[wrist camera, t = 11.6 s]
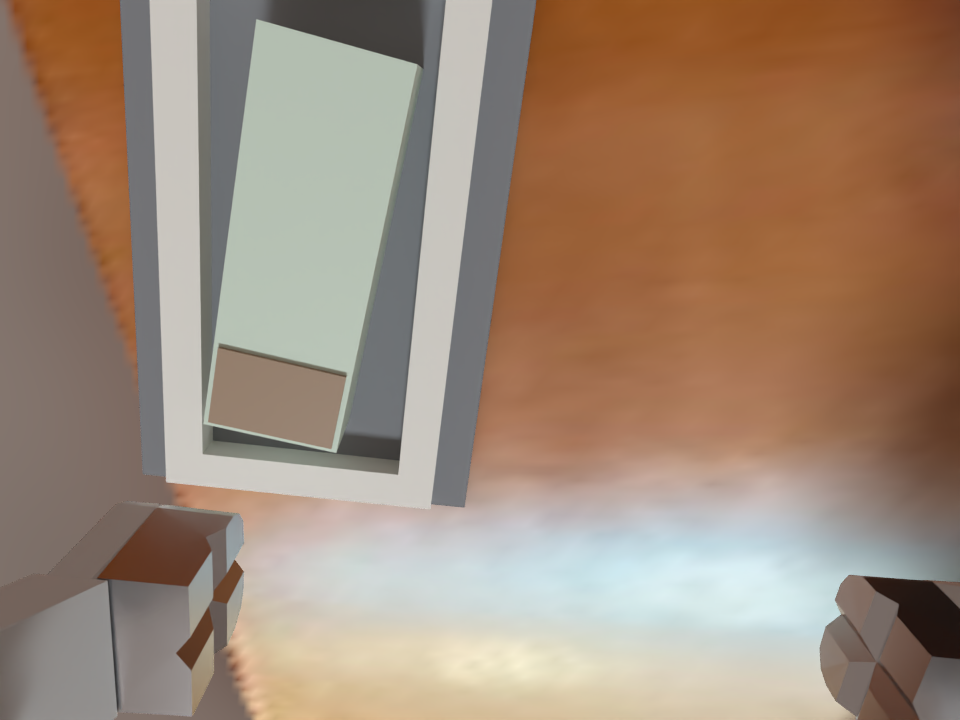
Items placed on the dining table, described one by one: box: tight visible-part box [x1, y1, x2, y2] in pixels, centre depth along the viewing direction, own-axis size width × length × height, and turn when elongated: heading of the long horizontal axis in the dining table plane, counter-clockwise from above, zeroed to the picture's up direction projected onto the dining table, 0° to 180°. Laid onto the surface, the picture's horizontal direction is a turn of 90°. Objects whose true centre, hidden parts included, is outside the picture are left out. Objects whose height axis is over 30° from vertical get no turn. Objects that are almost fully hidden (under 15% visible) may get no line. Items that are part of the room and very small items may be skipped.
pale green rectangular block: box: [203, 19, 424, 453], centre depth 25 cm, size 5×14×3 cm, turn 166°
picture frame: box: [120, 0, 536, 509], centre depth 26 cm, size 22×14×2 cm, turn 173°
